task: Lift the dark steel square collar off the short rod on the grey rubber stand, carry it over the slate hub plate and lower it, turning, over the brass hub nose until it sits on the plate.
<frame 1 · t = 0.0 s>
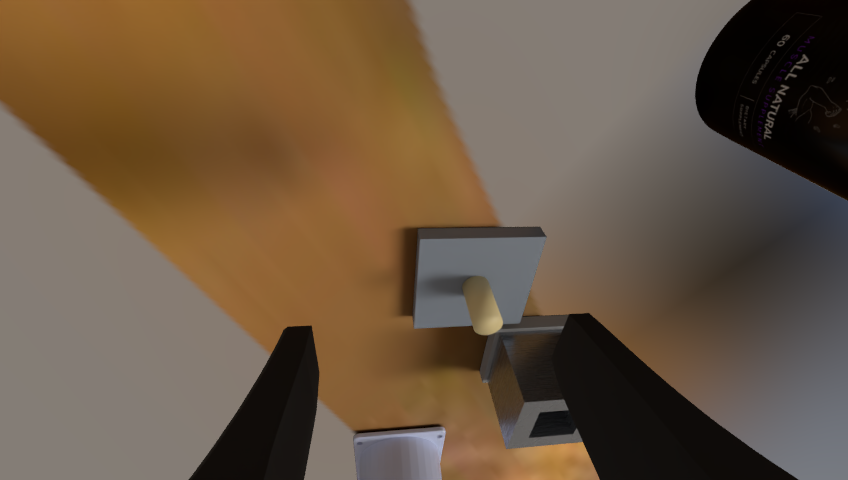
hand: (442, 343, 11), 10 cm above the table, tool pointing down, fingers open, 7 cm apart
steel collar: (529, 355, 27), point 1 cm above the table, touching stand
hub plate: (471, 274, 23), on the table
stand: (525, 344, 28), on the table
supplement bottle: (759, 60, 17), on the table
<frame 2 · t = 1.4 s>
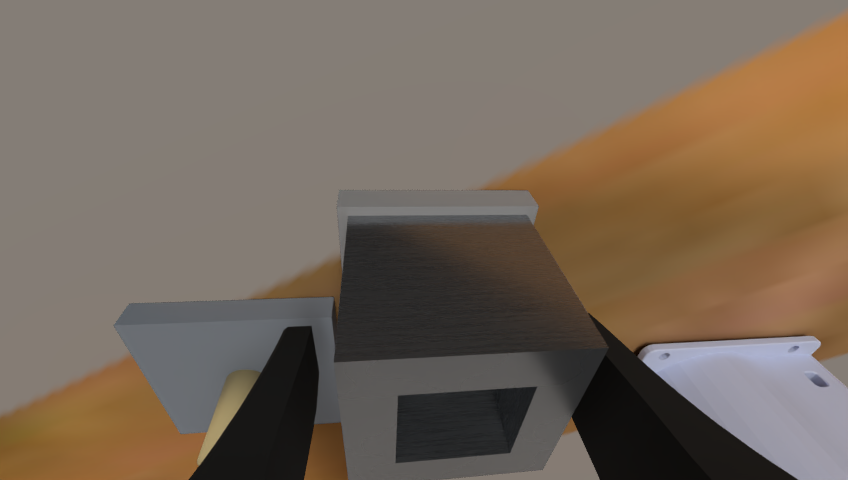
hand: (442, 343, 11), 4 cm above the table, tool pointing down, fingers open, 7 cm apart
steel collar: (433, 282, 13), point 1 cm above the table, touching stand
hub plate: (254, 360, 16), on the table
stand: (429, 263, 14), on the table
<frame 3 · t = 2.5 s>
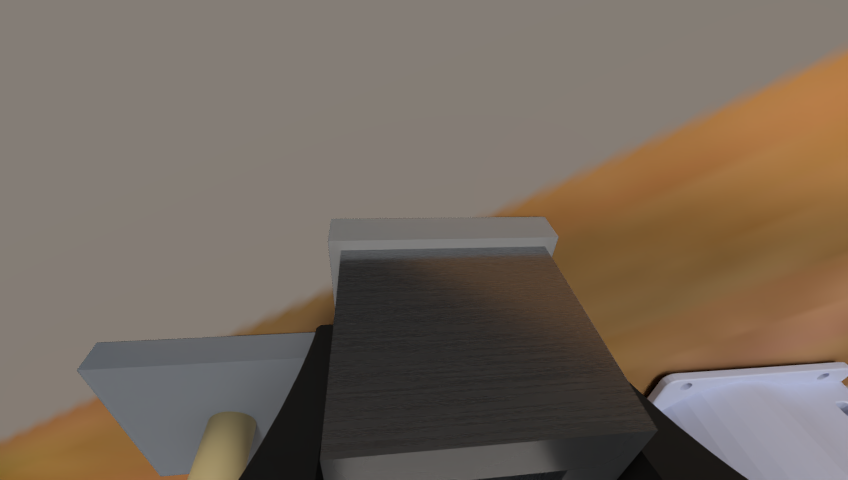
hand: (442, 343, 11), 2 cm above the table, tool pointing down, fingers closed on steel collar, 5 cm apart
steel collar: (437, 319, 11), point 1 cm above the table, touching gripper, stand
hub plate: (240, 397, 14), on the table
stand: (433, 295, 12), on the table
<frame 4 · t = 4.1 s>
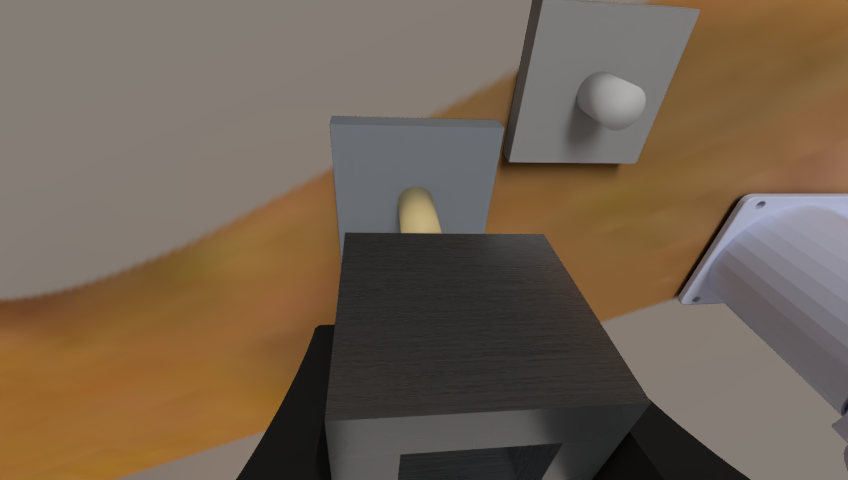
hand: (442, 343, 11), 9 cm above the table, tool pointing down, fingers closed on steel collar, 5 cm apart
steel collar: (437, 305, 12), point 8 cm above the table, touching gripper
hub plate: (413, 191, 18), on the table
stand: (584, 86, 16), on the table
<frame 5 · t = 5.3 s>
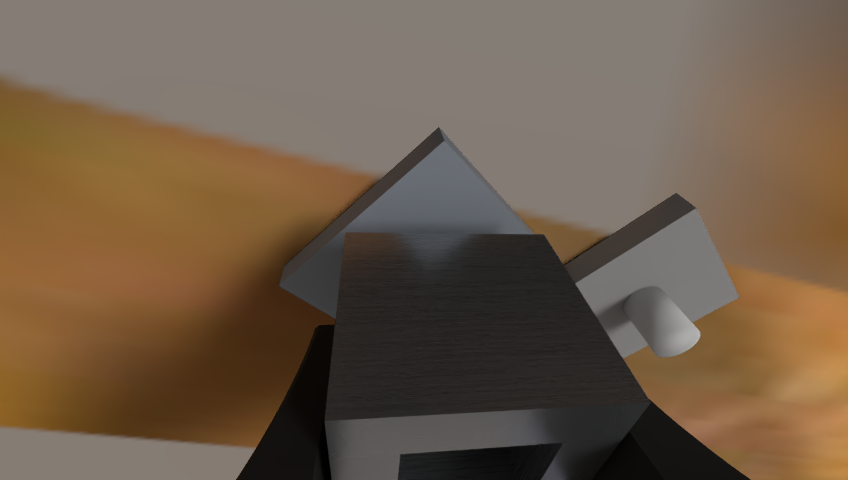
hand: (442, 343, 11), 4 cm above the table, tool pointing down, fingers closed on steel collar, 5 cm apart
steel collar: (437, 305, 12), point 2 cm above the table, touching gripper
hub plate: (427, 262, 14), on the table
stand: (629, 283, 15), on the table
when the fingers open (4 cm above the table, at t = 6.0 s): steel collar drops 1 cm, resting on hub plate.
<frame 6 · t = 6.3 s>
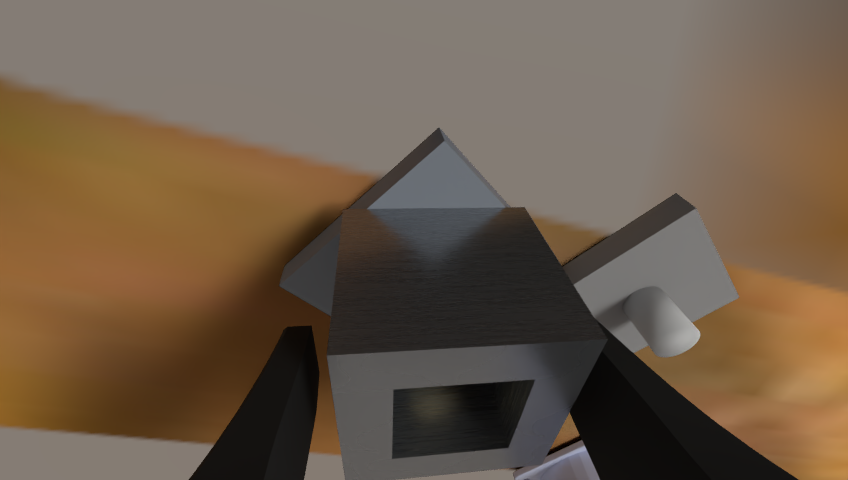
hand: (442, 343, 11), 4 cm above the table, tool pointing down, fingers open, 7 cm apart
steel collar: (430, 277, 13), point 1 cm above the table, touching hub plate
hub plate: (427, 262, 14), on the table
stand: (629, 283, 15), on the table
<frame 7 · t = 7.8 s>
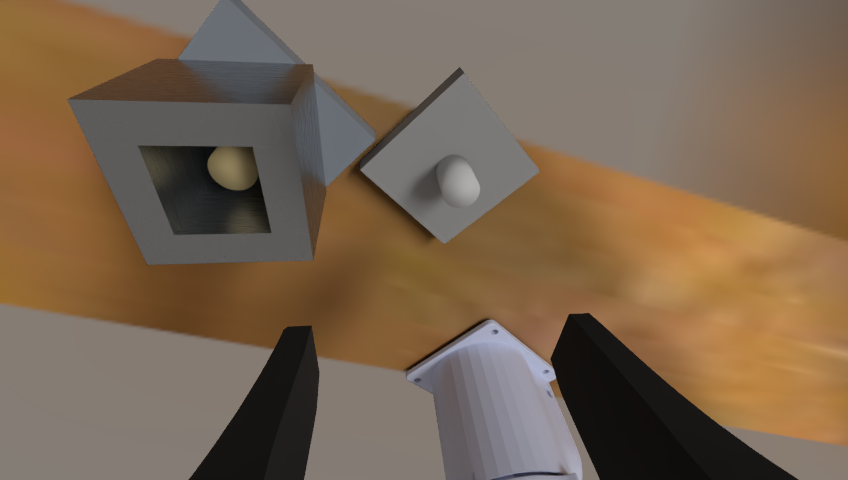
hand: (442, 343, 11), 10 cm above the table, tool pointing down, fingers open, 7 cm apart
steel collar: (252, 133, 15), point 1 cm above the table, touching hub plate
hub plate: (259, 129, 16), on the table
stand: (449, 161, 18), on the table
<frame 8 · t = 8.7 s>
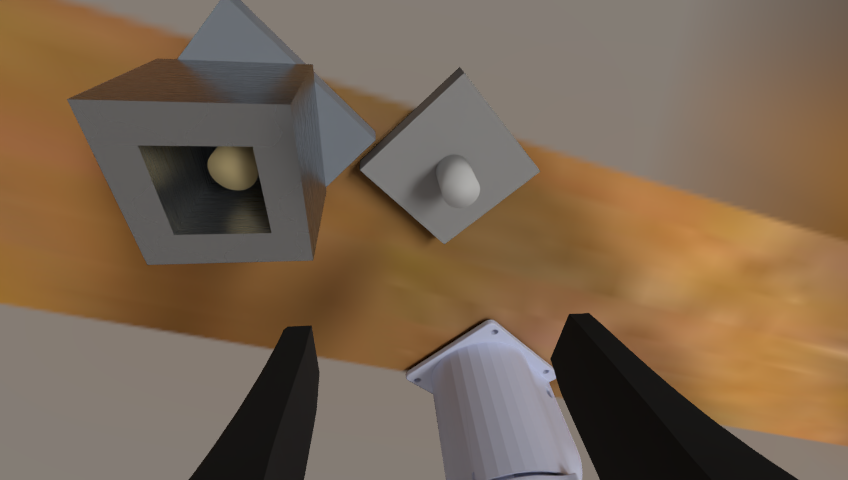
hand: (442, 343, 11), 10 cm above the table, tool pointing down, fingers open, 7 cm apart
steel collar: (252, 133, 15), point 1 cm above the table, touching hub plate
hub plate: (259, 129, 16), on the table
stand: (449, 161, 18), on the table
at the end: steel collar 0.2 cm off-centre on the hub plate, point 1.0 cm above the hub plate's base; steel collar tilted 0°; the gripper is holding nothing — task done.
